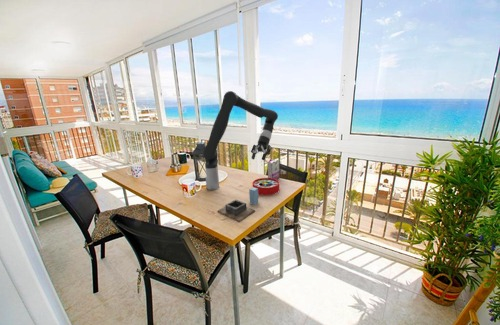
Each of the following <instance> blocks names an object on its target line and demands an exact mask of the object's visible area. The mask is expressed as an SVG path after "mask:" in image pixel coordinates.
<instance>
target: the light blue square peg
mask: <svg viewBox="0 0 500 325" xmlns="http://www.w3.org/2000/svg"><path fill="white" fill-rule="evenodd" d="M248 193H249V194H248V195H249V204H251V205H254V206H256V205H257V204H258V203H259V194H258V188H254V187H253V186H252V187H251V188H249V192H248Z"/></svg>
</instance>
